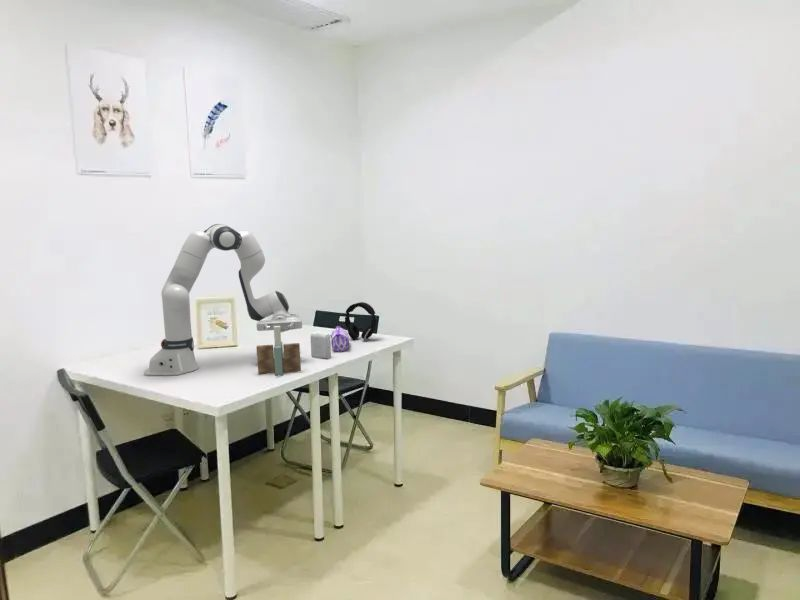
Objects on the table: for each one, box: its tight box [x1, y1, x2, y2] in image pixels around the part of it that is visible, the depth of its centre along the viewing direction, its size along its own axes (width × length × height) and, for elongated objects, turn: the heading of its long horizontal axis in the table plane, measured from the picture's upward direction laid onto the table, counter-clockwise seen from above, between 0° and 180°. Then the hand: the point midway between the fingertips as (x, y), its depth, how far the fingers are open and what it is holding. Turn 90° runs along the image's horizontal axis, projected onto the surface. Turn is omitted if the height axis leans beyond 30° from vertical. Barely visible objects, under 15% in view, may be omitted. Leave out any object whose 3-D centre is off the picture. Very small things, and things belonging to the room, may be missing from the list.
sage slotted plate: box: [273, 326, 284, 377], centre depth 266 cm, size 3×12×20 cm, turn 8°
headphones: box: [344, 301, 377, 341], centre depth 325 cm, size 18×8×20 cm, turn 61°
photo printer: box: [310, 330, 332, 359], centre depth 291 cm, size 10×4×12 cm, turn 56°
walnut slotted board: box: [256, 342, 302, 375], centre depth 266 cm, size 18×2×12 cm, turn 98°
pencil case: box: [329, 325, 350, 353], centre depth 310 cm, size 22×9×10 cm, turn 8°
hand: (278, 328), depth 274 cm, fingers open, 8 cm apart
